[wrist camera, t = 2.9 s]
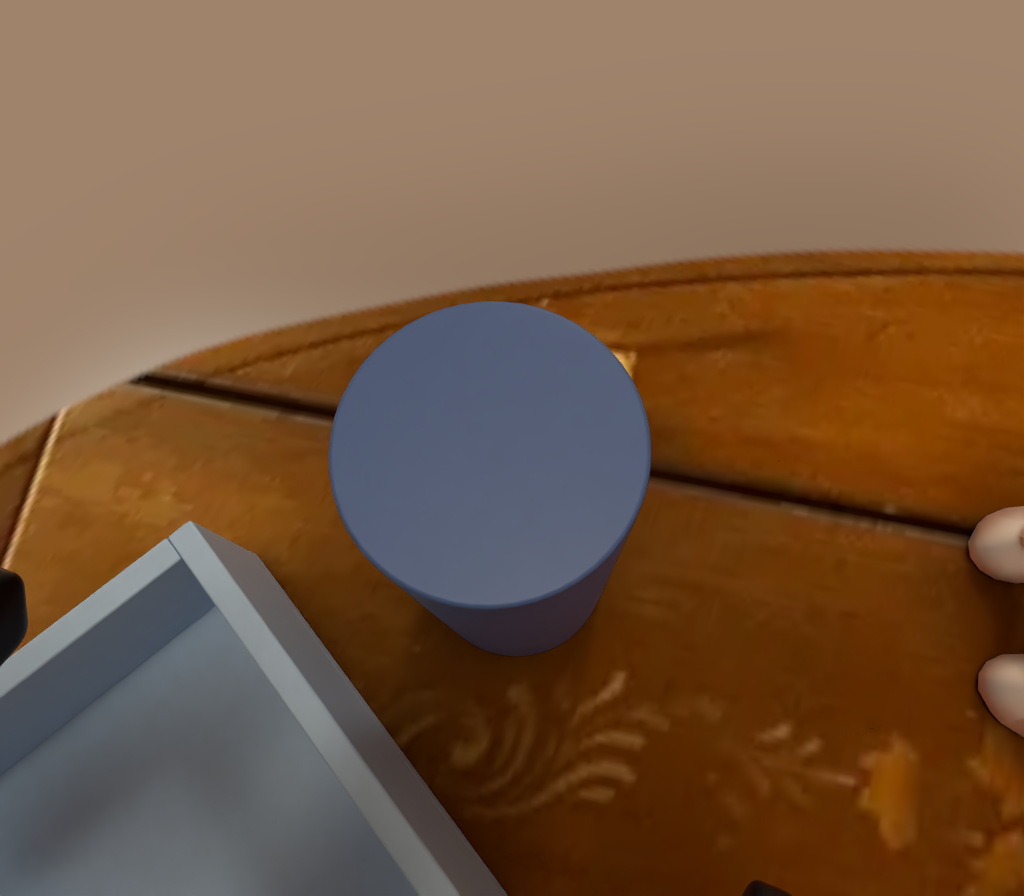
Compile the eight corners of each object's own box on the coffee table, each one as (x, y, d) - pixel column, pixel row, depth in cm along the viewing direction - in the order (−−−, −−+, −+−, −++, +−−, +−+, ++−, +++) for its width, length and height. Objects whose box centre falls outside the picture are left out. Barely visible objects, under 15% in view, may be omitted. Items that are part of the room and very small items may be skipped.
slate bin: (126, 1252, 16) (-6, 1421, 13) (-95, 829, 19) (-261, 861, 15) (509, 896, 18) (498, 948, 14) (257, 553, 21) (190, 518, 17)
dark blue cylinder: (505, 695, 19) (463, 683, 10) (395, 557, 21) (264, 428, 11) (639, 577, 20) (721, 461, 11) (527, 450, 21) (509, 243, 12)
